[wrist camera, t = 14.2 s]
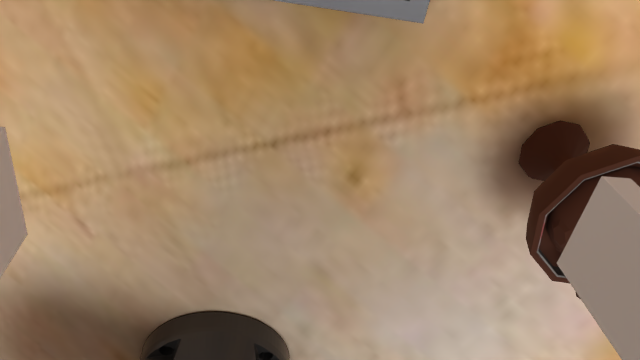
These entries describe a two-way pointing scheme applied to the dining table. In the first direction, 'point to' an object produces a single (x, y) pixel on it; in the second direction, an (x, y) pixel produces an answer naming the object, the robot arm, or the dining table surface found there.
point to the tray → (375, 7)
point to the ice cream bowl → (566, 186)
